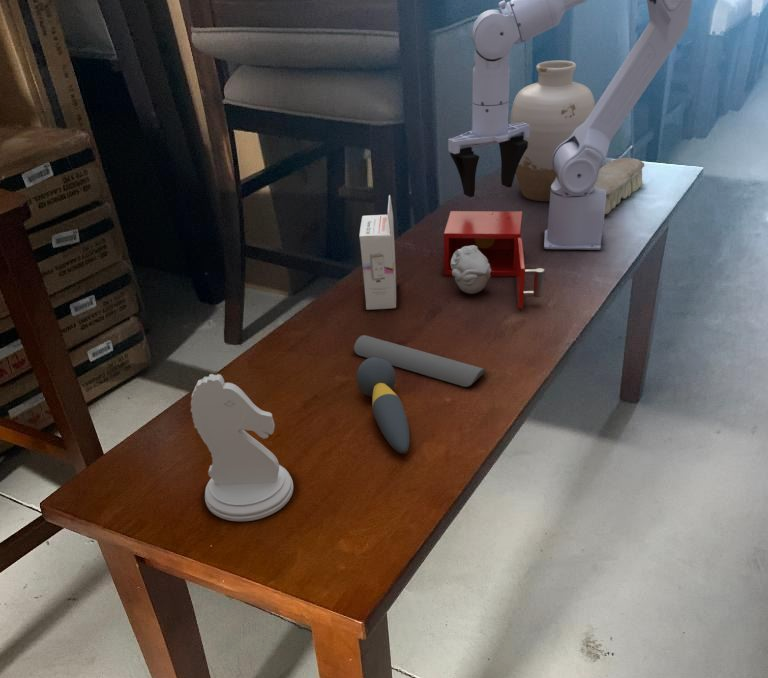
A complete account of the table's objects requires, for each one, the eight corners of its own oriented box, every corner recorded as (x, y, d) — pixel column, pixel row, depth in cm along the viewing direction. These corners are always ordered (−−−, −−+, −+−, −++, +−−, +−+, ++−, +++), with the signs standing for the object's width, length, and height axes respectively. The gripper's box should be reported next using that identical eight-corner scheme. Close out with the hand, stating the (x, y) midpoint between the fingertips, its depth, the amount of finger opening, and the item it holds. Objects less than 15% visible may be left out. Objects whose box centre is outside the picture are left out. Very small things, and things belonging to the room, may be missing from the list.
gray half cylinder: (472, 390, 100) (472, 378, 99) (351, 354, 109) (350, 342, 108) (488, 375, 102) (488, 363, 101) (369, 341, 112) (368, 330, 110)
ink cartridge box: (366, 287, 126) (359, 194, 116) (397, 285, 125) (392, 192, 116) (364, 310, 119) (356, 214, 110) (396, 309, 119) (391, 213, 109)
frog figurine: (472, 279, 126) (473, 236, 121) (499, 293, 121) (501, 250, 116) (442, 289, 123) (441, 246, 119) (468, 304, 119) (469, 260, 114)
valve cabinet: (520, 252, 133) (522, 211, 128) (517, 276, 125) (519, 233, 121) (450, 251, 135) (450, 211, 130) (444, 275, 127) (443, 233, 123)
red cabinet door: (515, 275, 125) (517, 237, 121) (538, 275, 124) (541, 237, 120) (518, 308, 116) (520, 268, 112) (542, 308, 115) (546, 268, 111)
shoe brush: (603, 222, 141) (607, 194, 138) (565, 216, 144) (568, 189, 141) (648, 183, 156) (652, 156, 152) (612, 178, 159) (615, 152, 156)
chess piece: (289, 519, 82) (267, 399, 72) (198, 524, 83) (164, 405, 73) (297, 464, 90) (277, 348, 80) (213, 468, 90) (184, 354, 80)
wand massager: (435, 453, 90) (434, 417, 86) (394, 463, 89) (391, 427, 86) (385, 373, 104) (382, 340, 101) (349, 381, 103) (346, 347, 100)
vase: (490, 197, 155) (494, 68, 140) (536, 176, 163) (544, 52, 148) (558, 212, 146) (569, 77, 131) (602, 189, 154) (618, 59, 140)
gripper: (465, 114, 116) (464, 206, 125) (543, 98, 121) (537, 187, 130) (440, 105, 121) (441, 194, 130) (516, 90, 126) (512, 177, 134)
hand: (487, 190), depth 130 cm, fingers open, 7 cm apart
